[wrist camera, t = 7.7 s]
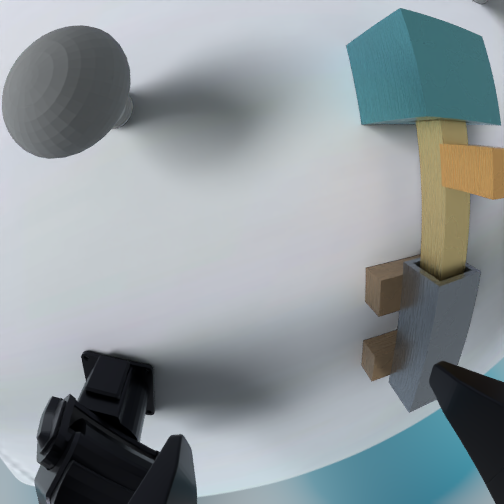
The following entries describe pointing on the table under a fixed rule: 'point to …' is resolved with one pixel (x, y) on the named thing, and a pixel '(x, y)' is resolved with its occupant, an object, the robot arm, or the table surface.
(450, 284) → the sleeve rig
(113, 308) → the table surface
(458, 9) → the table surface
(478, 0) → the glass holder
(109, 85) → the light bulb
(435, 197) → the yellow sliding bolt
